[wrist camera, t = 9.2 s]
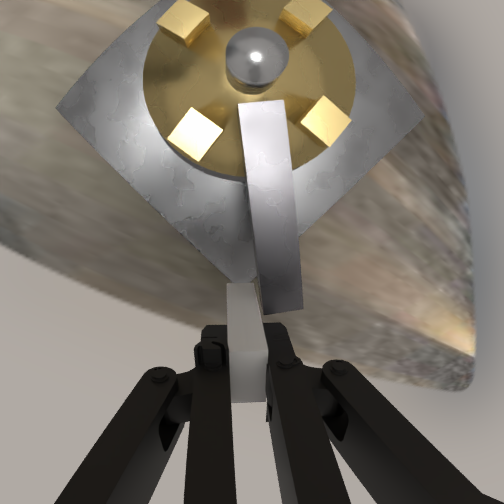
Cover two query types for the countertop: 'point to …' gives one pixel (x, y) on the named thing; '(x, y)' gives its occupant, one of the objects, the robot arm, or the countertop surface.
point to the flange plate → (210, 195)
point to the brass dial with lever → (253, 109)
